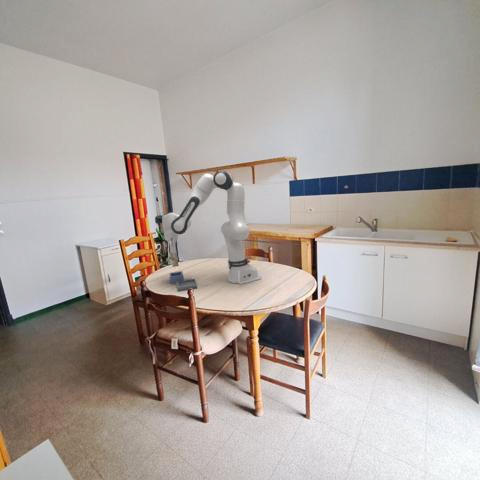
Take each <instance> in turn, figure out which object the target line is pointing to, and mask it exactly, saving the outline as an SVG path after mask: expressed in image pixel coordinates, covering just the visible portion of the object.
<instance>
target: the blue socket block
mask: <svg viewBox="0 0 480 480" xmlns="http://www.w3.org/2000/svg"><path fill="white" fill-rule="evenodd" d="M184 278H185V277H184V272H183V271H175V272H174V271H173V272H169V282H170V285H173V284H175V285H176V284H177V281H183V280H185V279H184Z"/></svg>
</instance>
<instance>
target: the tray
mask: <svg viewBox="0 0 480 480" xmlns="http://www.w3.org/2000/svg"><path fill="white" fill-rule="evenodd" d="M176 284H177V292H183V291H189V290H188V289H189V288H193V289H192V290H195V289H199V288H198V283H197V280H196V278H189V279H184V280H183V281H177V283H176Z"/></svg>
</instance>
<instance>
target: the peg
mask: <svg viewBox="0 0 480 480" xmlns="http://www.w3.org/2000/svg"><path fill="white" fill-rule="evenodd" d="M177 252H178V251H177V250H176V253H175V255H176V257H175V258H173V255H172V253H171V252H170V259H171V264H172V265H171V266H172V268H176V267H179V259H178V253H177Z"/></svg>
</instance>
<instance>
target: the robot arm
mask: <svg viewBox="0 0 480 480" xmlns="http://www.w3.org/2000/svg"><path fill="white" fill-rule="evenodd" d="M216 188H218V189H220V190H223V191H225V192H226V195H227V197H226V198H227V199H226V213H227V216H228V219H229V220H228V221H226V222H223V223H222V224H221V226H220V232H221V234H222V235H223V238H224V240H225V244H226V249H227V256H228V258H227V266H228V267H227V268H228V278H227V281H228V282H229V283H233V284H240V285H244V284H247V283H251V282H255V281H259V280H262V276H261V273H258V270H257V268H256V267H255V266H253V265H252V264H250V263H251V260H250V259H249V258H247V257H246V254H245V253H246V252H245V246H244V243H242V241H245V240H246V239H247V238H249V236H250V228H249V227H248V225H247V221H246V217H245V190H244V188H245V187H244V185H243V184H241V182H235V181H234V178H233V176H232V175H231V173H230V172H228V171H226V170H222V169H220V170H217V171H216V172H215V173H214V175H212V174H211V173H204V174H203V175H202V176H201V177H200V178H199V179H198V181H197V182H196V184H195V185H194V187H193V189H192V191H191V194H190V197H189V199H188V201H187V203H186V205H185V206H184V208H183V210H182V211H181V213H180V214H177V213H175V212H173V211H170V212H166V213H164V214H163V215H162V217H161V221H162V228H163V237H164V241H166V242H167V244H168V245H169V250H170V254H171V253H172V255H173V258H175V257H176V255H175V253H176V251H177V247H176V242H178V241H177V240H178V239H179V235H183V234H184V233H186V231H187V230H188V229H189V228H190V227H191V224H192V221H191V220H190V219H191V218H192V216H193V214H194V213H195V211H197V209H198V208H199V207H201V205H203V204H205V202H206V201H207V200H208V199H209V197H210V196H211V195H212V192H214V190H215V189H216Z"/></svg>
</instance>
